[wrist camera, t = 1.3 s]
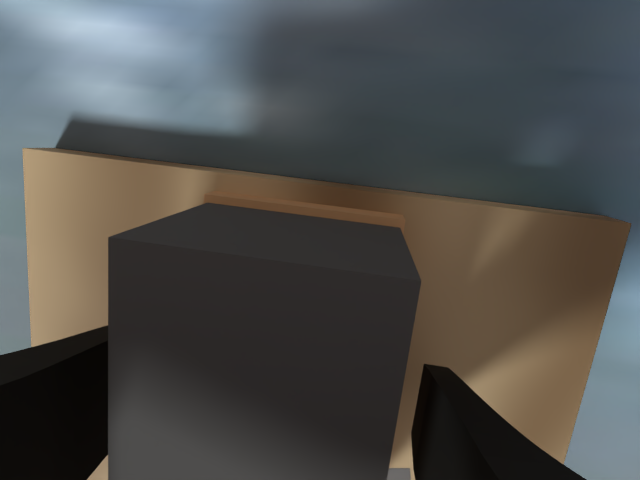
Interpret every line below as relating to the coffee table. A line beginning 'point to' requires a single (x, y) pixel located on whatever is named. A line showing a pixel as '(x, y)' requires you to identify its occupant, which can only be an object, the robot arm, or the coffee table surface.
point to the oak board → (426, 250)
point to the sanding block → (258, 342)
